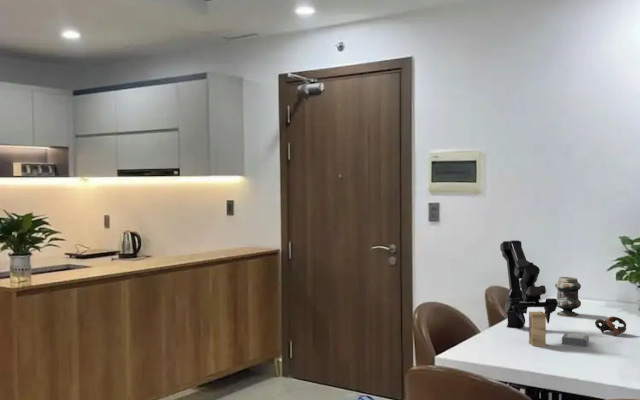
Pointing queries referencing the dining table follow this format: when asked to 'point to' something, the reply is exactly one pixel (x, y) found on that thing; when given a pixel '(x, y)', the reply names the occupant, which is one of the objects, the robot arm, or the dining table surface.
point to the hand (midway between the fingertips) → (536, 322)
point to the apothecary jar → (568, 295)
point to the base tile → (575, 339)
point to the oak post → (537, 328)
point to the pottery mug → (611, 325)
